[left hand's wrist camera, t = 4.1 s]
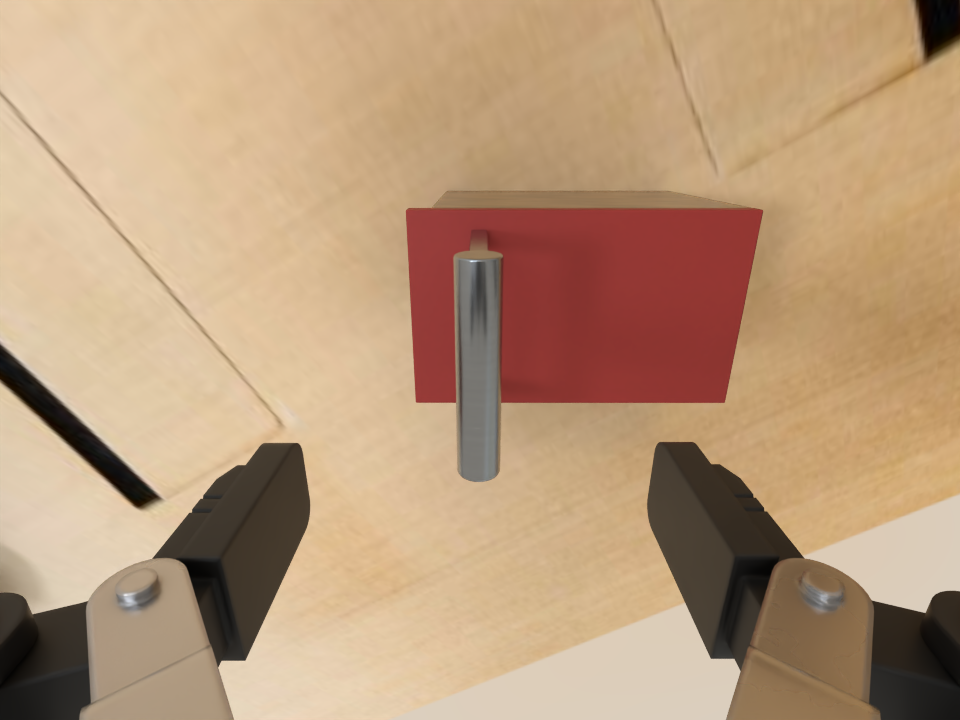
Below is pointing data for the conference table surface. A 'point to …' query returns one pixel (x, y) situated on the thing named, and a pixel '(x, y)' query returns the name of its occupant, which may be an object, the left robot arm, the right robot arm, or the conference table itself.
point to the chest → (575, 200)
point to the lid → (572, 309)
